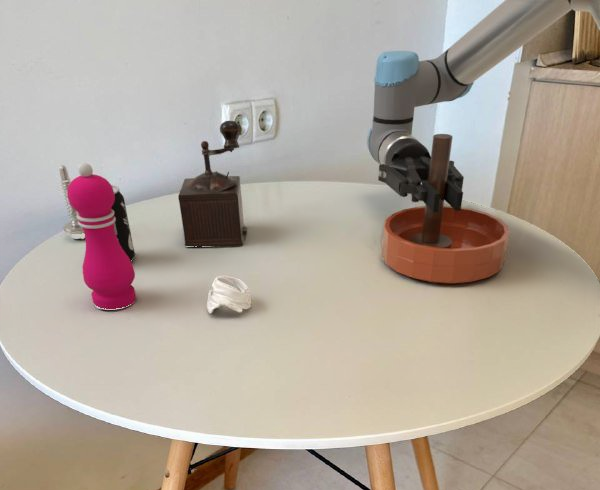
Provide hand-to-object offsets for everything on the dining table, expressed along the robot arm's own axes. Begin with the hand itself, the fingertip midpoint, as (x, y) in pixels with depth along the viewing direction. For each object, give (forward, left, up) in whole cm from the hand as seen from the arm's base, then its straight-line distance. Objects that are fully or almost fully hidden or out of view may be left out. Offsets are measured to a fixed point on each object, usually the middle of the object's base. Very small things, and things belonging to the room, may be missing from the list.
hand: (447, 202), depth 88 cm
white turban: (+5, +34, -12) cm, 36 cm away
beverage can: (+29, +46, -12) cm, 55 cm away
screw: (+43, +50, -12) cm, 67 cm away
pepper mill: (+14, +49, -12) cm, 52 cm away
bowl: (+4, -3, -11) cm, 13 cm away
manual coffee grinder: (+34, +26, -12) cm, 44 cm away
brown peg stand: (+5, -2, -10) cm, 11 cm away
